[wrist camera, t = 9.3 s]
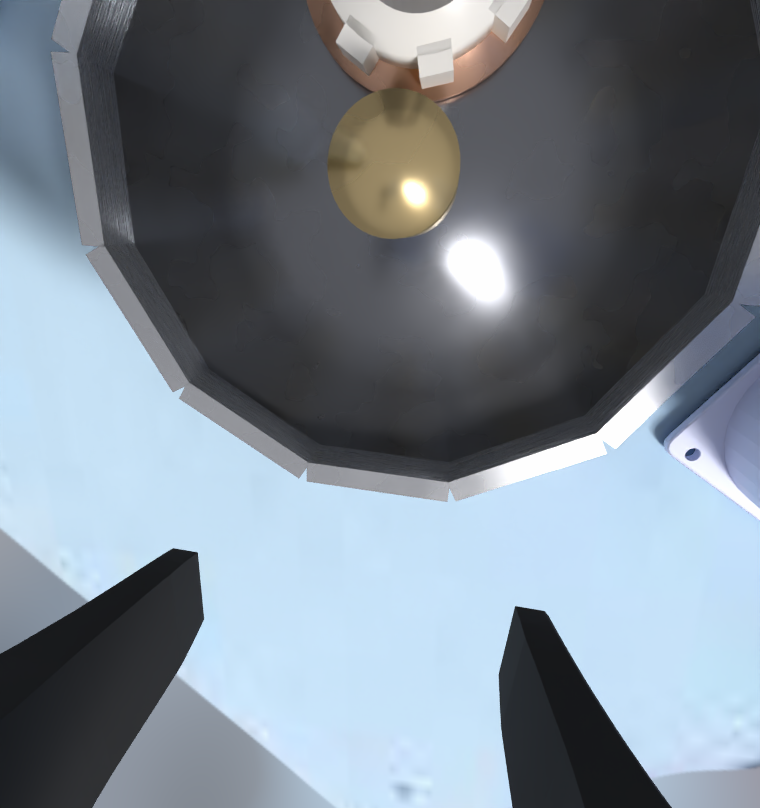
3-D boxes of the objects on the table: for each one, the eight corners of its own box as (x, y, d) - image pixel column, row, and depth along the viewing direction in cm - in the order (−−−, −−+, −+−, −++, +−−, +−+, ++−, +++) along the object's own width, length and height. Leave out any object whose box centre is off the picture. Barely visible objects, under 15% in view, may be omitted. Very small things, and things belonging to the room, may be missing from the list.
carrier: (930, 70, 12) (1215, -26, 8) (463, 539, 20) (466, 631, 15) (310, -483, 11) (199, -1041, 6) (58, 265, 18) (-75, 277, 14)
